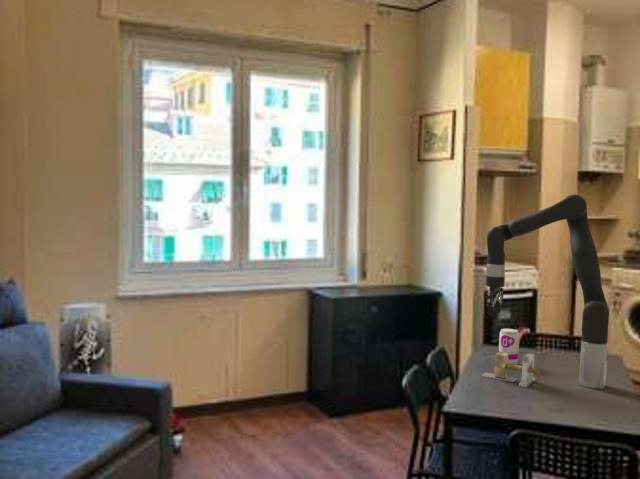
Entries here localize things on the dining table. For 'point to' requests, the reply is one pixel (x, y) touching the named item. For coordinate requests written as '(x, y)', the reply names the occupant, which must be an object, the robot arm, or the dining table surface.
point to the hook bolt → (508, 366)
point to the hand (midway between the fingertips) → (493, 314)
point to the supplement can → (509, 344)
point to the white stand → (526, 376)
